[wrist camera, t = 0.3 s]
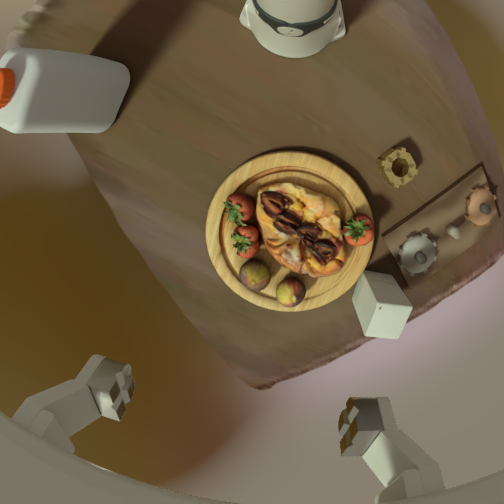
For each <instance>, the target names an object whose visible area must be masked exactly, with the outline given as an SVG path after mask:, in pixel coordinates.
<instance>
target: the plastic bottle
mask: <svg viewBox="0 0 504 504" xmlns="http://www.w3.org/2000/svg"><path fill="white" fill-rule="evenodd" d="M129 84H130V73H129V70H128V69H127V67H126V66H125V65H123V64H122V63H119V62H115V61H112V60H108V59H105V58H101V57H97V56H92V55H86V54H79V53H72V52H64V51H56V50H46V49H33V48H12V49H10V50H8V51H7V52H6V53H5V54H4V55H3V56H2V58H1V60H0V127H2V128H4V129H6V130H8V131H10V132H13V133H38V132H78V133H100V132H103V131H105V130H107V129H108V128H109V127H110V126H111V125H112V124H113V122H114V120H115V118H116V115H117V113H118V110H119V108H120V105H121V103H122V101H123V98H124V96H125V94H126V91H127V89H128V87H129Z"/></svg>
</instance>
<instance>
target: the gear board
mask: <svg viewBox="0 0 504 504" xmlns="http://www.w3.org/2000/svg"><path fill="white" fill-rule="evenodd" d="M496 199H497V198H496V195H495V194H493V193H491V190H490V187H489V184H488V182H487V179H486V176H485V174H484V171H483V168H482V166H480V165H477V166H475V167H474V168H473V169H472V170H470V171H469V172H468V173H466V174H465V175H464V176H462V177H461V178H460V179H458V180H457V181H456V182H454V183H453V184H452V185H450V186H449V187H448V188H446V189H445V190H444V191H442V192H441V193H440V194H438V195H437V196H435V197H434V198H433V199H431V200H430V201H429V202H427V203H426V204H424V205H423V206H422V207H420V208H419V209H417V210H416V211H415V212H413V213H412V214H410V215H409V216H407V217H406V218H405V219H403V220H402V221H400V222H399V223H397V224H396V225H394V226H393V227H391V228H390V229H389V230H387V231H386V232H384V233H383V234H381V236H382V238H383V239H384V241H385V243H386V245H387V247H388V248H389V250H390V252H391V254H392V256H393V257H394V259H395V261H396V263H397V265H398V267H399V269H400V271H401V273H402V275H403V277H404V278H405V280H406V282H407V284H408V286H409V288H410V289H412V288H414V287H415V286H417V285H418V284H419V283H421V282H422V281H424V280H425V279H427V278H428V277H430V276H431V275H432V274H434V273H435V272H437V271H438V270H440V269H441V268H442V267H444V266H445V265H446V264H448V263H449V262H451V261H452V260H453V259H455V258H456V257H457V256H459V255H460V254H461V253H462V252H464V251H465V250H466V249H468V248H469V247H470V246H472V245H473V244H474V243H475V242H477V241H478V240H479V239H480V238H482V237H483V236H484V235H485V234H486V233H488V232H489V231H490V230H491V229H492V228H494V227H495V226H496V225H497V224H498V223H500V218H499V215H498V212H497V208H496V205H495V200H496Z"/></svg>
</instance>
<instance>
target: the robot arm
mask: <svg viewBox="0 0 504 504" xmlns="http://www.w3.org/2000/svg"><path fill="white" fill-rule="evenodd" d="M240 22H241V23H242V24H243V25H244V26H245V27H247V28H248V29H250V30H251V31H252V32H253V33H254V35H255V37H256V38H257V40H258V41H259V42H260V44H261V45H262V46H264V47H265V48H266V49H268V50H269V51H271V52H273V53H275V54H277V55H280V56H284V57H290V58H301V57H307V56H310V55H313V54H315V53H317V52H319V51H320V50H322V49H323V48H324V47H325V46H326V45H327V44H329V43H330V42H331V41H334V40H337V39H340V38H342V37H344V36H345V32H346V30H345V23H344V17H343V11H342V5H341V0H247V1H246V4H245V6H244V8H243V10H242V13H241V15H240ZM339 26H340V27H339ZM131 372H132V371H131V367H130V365H128V364H125V363H121V362H118V361H115V360H112V359H109V358H106V357H103V356H100V355H97V354H95V355H93V356H92V357H91V358H90V359H89V361H88V362H87V364H86V365H85V366H84V368H83V369H82V370H81V372H80V373H79V374H78V376H77V377H76V379H75V380H72V379H71V380H69V381H66V382H64V383H62V384H59V385H57V386H55V387H52V388H50V389H48V390H45V391H43V392H41V393H38V394H36V395H33V396H31V397H28V398H27V399H26V400H25V401H24V402H23V404H22V405H21V406H20V408H19V409H18V410H17V412H16V413H15V414H14V416H13V417H12V419H10V418H9V417H7V416H6V415H4V414H3V413H2V412H0V504H238V503H231V502H224V501H218V500H212V499H207V498H202V497H197V496H192V495H187V494H183V493H179V492H175V491H171V490H168V489H164V488H160V487H157V486H153V485H150V484H147V483H144V482H141V481H137V480H134V479H132V478H128V477H126V476H123V475H120V474H117V473H115V472H112V471H109V470H107V469H105V468H102V467H100V466H98V465H95V464H93V463H91V462H88V461H86V460H84V459H82V458H79V457H77V456H75V455H73V452H74V450H75V448H74V445H73V444H72V442H71V441H70V439H69V438H68V437H70V436H71V435H73V434H74V433H76V432H78V431H79V430H81V429H82V428H84V427H85V426H87V425H89V424H90V423H91V422H93V421H95V420H96V419H97V418H99V417H101V415H102V416H105V417H108V418H111V419H114V420H117V421H120V420H121V418H122V416H123V414H124V412H125V410H126V407H125V404H126V403H127V402H129V401H131V399H132V396H133V394H134V389H135V383H134V379H133V378H132V377H131V376H130V374H131ZM346 407H347V408H345V409H344V410H342V412H341V415H340V417H339V422H338V429H339V433H340V435H341V436H342V437H343V438H342V439H341V441H340V448H341V456H362V458H363V459H364V460H365V461H366V463H367V464H368V466H369V467H370V468H371V470H372V471H373V472H374V473H375V475H376V476H377V477H378V479H379V480H380V481H381V482H382V484H383V485H384V486H385V489H384V490H383V491H382V492H381V493H379V494H378V495H377V496H376V497H375V504H504V469H503V470H500V471H498V472H496V473H493V474H490V475H488V476H485V477H483V478H480V479H477V480H474V481H471V482H468V483H465V484H463V485H459V486H456V487H453V488H449V489H446V490H445V486H444V482H443V478H442V475H441V471H440V467H439V464H438V463H437V462H436V461H435V460H434V459H433V458H432V457H431V456H430V455H429V454H427V453H426V452H425V451H424V450H423V449H422V448H421V447H420V446H419V445H417V444H416V443H415V442H414V441H413V440H412V439H411V438H410V437H409V436H408V435H406V434H405V433H404V432H403V431H402V430H398V429H397V425H396V421H395V418H394V414H393V411H392V407H391V404H390V400H389V398H388V397H350V398H349V399H348V400H347V402H346Z"/></svg>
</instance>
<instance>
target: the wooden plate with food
mask: <svg viewBox="0 0 504 504" xmlns="http://www.w3.org/2000/svg"><path fill="white" fill-rule="evenodd" d="M206 244H207V249H208V253H209V256H210V259H211V261H212V264H213V266H214V268H215V269H216V271H217V273H218V274H219V276H220V277H221V278H222V280H223V281H224V282H225V283H226V284H227V285H228V286H229V287H230V288H231V289H232V290H233V291H234V292H235V293H236V294H238V295H239V296H241V297H242V298H244V299H246V300H247V301H249V302H251V303H253V304H256V305H258V306H261V307H264V308H267V309H272V310H277V311H289V312H294V311H304V310H310V309H314V308H318V307H321V306H323V305H326V304H328V303H330V302H332V301H333V300H335V299H337V298H338V297H340V296H341V295H343V294H344V293H345V292H347V291H348V290H349V289H350V288H351V287H352V286H353V285H354V284H355V283H356V282H357V280H358V279H359V278H360V276H361V275H362V273H363V272H364V270H365V268H366V266H367V264H368V262H369V259H370V256H371V253H372V249H373V244H374V220H373V215H372V211H371V208H370V205H369V202H368V199H367V198H366V196H365V194H364V192H363V191H362V189H361V187H360V186H359V185H358V183H357V182H356V181H355V180H354V178H353V177H352V176H351V175H350V174H349V173H348V172H347V171H345V170H344V169H343V168H341V167H340V166H338V165H337V164H336V163H334V162H332V161H330V160H328V159H327V158H324V157H322V156H319V155H316V154H313V153H309V152H304V151H295V150H284V151H275V152H270V153H266V154H263V155H259V156H257V157H255V158H252V159H251V160H249V161H247V162H245V163H243V164H242V165H240V166H239V167H238V168H236V169H235V170H234V171H233V172H231V173H230V174H229V175H228V176H227V177H226V178H225V179H224V181H223V182H222V183H221V185H220V186H219V188H218V189H217V191H216V193H215V195H214V197H213V199H212V201H211V203H210V206H209V209H208V213H207V218H206Z"/></svg>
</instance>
